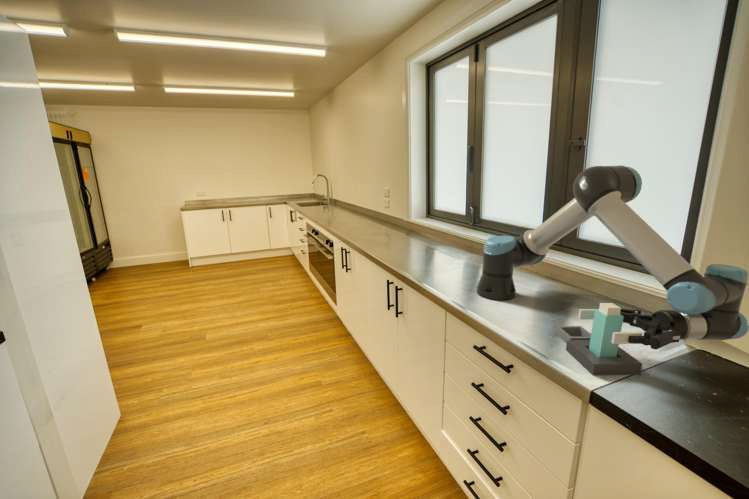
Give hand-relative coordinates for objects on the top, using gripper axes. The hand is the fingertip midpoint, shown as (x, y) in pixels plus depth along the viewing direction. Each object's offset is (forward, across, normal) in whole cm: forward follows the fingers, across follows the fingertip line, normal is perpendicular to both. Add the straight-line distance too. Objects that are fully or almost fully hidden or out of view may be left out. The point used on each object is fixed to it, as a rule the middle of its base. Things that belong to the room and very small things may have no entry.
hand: (594, 325), depth 88 cm
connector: (-3, 0, -11) cm, 11 cm away
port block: (-3, 0, -10) cm, 11 cm away
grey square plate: (-3, +12, -10) cm, 16 cm away
